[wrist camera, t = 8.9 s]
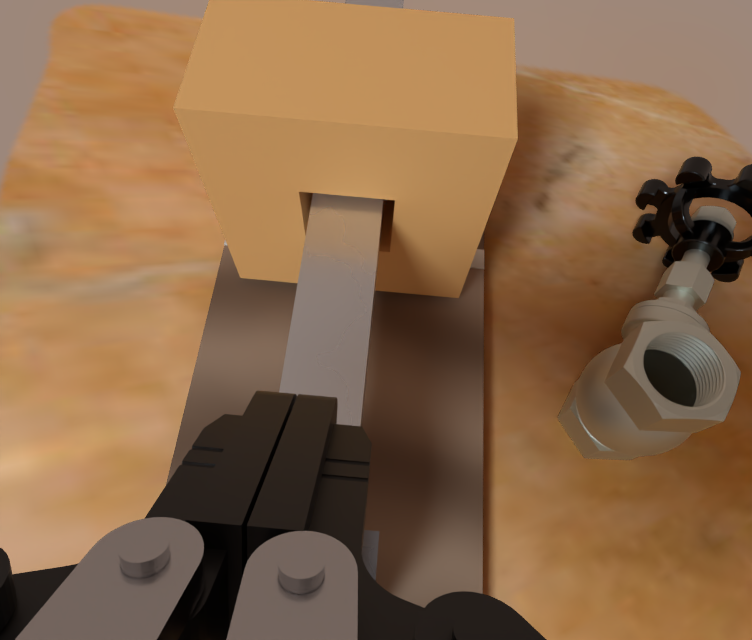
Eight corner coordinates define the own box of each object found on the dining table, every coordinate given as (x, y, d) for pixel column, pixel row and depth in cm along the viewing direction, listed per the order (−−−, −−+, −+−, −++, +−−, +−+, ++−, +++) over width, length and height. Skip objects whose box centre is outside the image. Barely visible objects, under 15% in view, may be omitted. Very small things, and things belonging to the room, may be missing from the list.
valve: (657, 507, 22) (740, 287, 26) (770, 482, 16) (852, 202, 20) (509, 420, 23) (613, 224, 28) (563, 367, 17) (683, 128, 22)
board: (476, 676, 19) (482, 681, 18) (137, 642, 19) (126, 646, 18) (480, 122, 30) (484, 107, 29) (265, 103, 30) (262, 87, 29)
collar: (458, 298, 24) (517, 138, 15) (240, 278, 24) (173, 107, 15) (461, 205, 26) (514, 18, 17) (260, 186, 26) (211, -9, 17)
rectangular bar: (366, 635, 19) (370, 665, 13) (250, 623, 19) (199, 648, 13) (409, 116, 29) (422, -4, 23) (334, 109, 29) (328, -13, 23)
